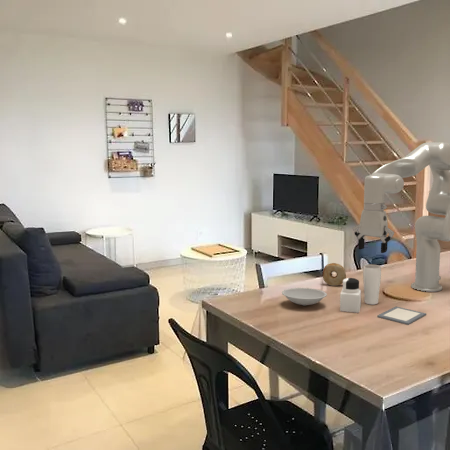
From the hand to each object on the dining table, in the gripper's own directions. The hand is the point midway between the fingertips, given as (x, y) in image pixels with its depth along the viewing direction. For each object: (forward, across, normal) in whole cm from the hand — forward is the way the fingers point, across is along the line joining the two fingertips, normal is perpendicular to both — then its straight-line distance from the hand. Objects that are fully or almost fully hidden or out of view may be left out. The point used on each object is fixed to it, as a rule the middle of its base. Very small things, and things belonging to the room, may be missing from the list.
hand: (372, 250), depth 201 cm
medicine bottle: (+22, +2, +12) cm, 25 cm away
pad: (+21, -16, +6) cm, 27 cm away
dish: (+22, +18, +20) cm, 34 cm away
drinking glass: (+22, 0, 0) cm, 22 cm away
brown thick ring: (+22, +25, -12) cm, 35 cm away
